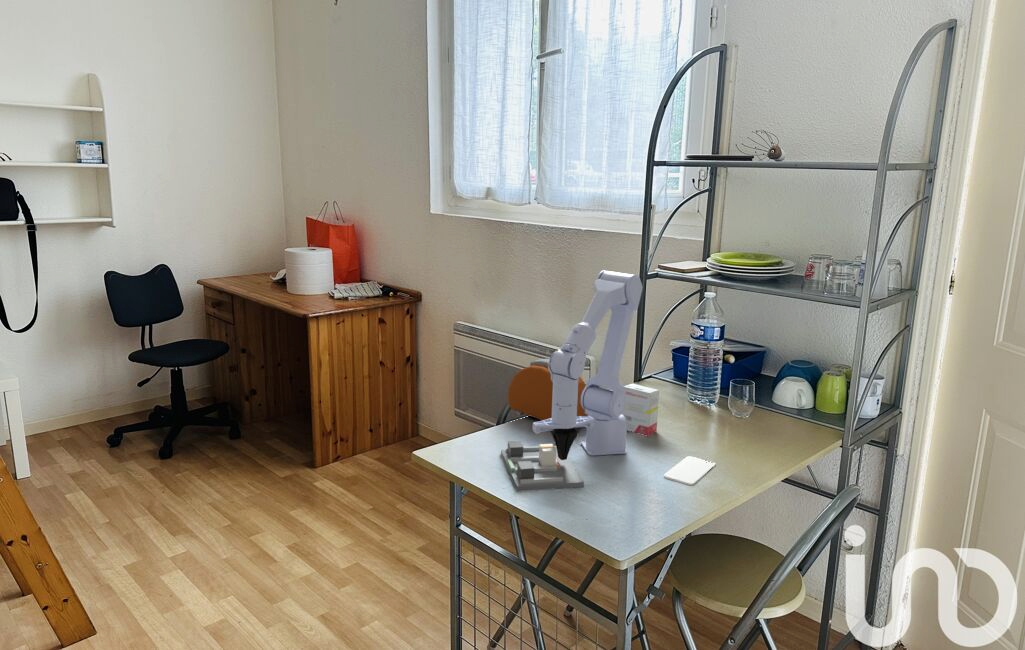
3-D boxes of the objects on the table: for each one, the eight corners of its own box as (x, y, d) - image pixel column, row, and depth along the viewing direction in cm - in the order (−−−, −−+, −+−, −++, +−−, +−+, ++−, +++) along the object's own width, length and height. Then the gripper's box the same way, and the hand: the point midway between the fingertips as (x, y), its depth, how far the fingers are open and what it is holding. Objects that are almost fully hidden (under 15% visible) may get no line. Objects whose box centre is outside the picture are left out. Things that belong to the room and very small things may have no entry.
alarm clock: (592, 427, 202) (595, 367, 198) (570, 435, 196) (573, 373, 192) (528, 405, 218) (530, 349, 214) (506, 412, 212) (507, 354, 208)
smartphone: (717, 463, 180) (692, 484, 168) (716, 466, 181) (692, 487, 169) (688, 455, 184) (662, 475, 173) (687, 458, 185) (661, 478, 173)
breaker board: (561, 451, 186) (561, 435, 185) (583, 487, 167) (584, 469, 166) (500, 454, 183) (501, 438, 182) (516, 491, 164) (517, 473, 163)
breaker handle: (551, 459, 177) (551, 442, 176) (555, 466, 173) (556, 449, 172) (538, 460, 176) (539, 443, 175) (542, 467, 173) (543, 450, 172)
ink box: (657, 431, 200) (660, 389, 197) (648, 437, 196) (651, 393, 193) (629, 423, 205) (631, 382, 202) (619, 428, 201) (622, 386, 199)
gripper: (586, 394, 178) (583, 448, 181) (528, 399, 173) (526, 455, 176) (599, 403, 172) (596, 459, 175) (540, 409, 167) (538, 467, 170)
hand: (562, 458), depth 175 cm, fingers closed
